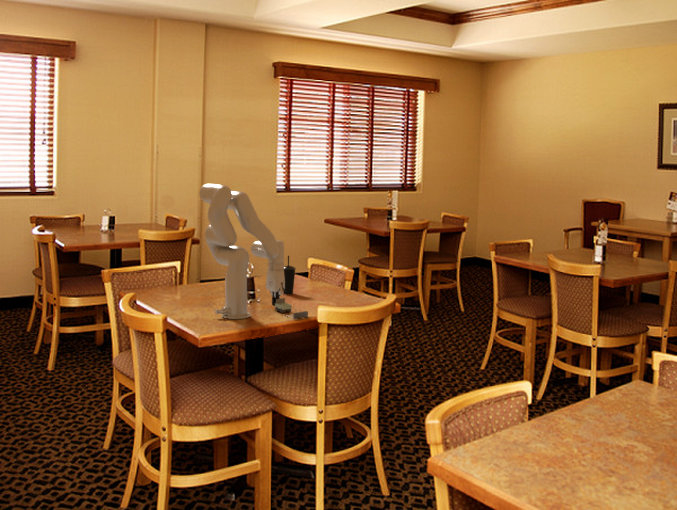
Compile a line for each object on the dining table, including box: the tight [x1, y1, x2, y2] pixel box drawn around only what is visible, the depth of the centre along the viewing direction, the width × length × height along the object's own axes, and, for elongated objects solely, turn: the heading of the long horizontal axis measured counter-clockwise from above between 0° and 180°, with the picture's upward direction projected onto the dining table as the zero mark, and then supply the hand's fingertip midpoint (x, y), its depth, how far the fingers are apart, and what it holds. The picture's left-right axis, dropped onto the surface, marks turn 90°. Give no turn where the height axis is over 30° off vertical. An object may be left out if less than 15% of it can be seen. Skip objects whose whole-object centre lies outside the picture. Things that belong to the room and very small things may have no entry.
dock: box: [285, 310, 309, 320], centre depth 310 cm, size 7×10×3 cm
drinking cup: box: [283, 255, 297, 295], centre depth 356 cm, size 8×8×20 cm
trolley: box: [274, 297, 293, 314], centre depth 318 cm, size 7×6×6 cm
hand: (275, 305), depth 324 cm, fingers closed
